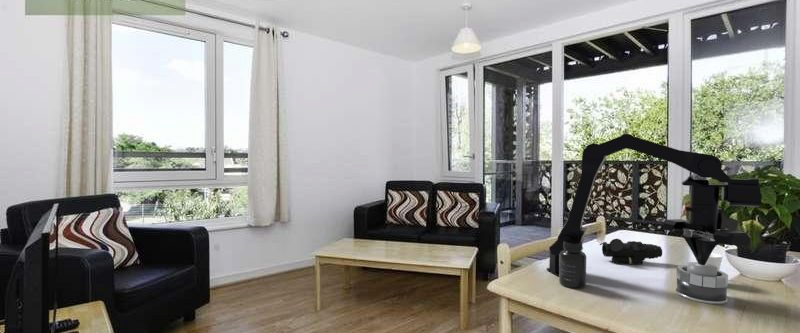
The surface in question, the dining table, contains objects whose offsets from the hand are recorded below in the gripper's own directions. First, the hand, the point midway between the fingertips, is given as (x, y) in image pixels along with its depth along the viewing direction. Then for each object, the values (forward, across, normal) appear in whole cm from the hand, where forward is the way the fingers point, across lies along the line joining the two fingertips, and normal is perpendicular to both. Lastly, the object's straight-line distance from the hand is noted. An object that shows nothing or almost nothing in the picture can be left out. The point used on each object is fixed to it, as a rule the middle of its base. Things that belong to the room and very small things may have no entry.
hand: (701, 264), depth 97 cm
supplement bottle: (+8, +12, +28) cm, 32 cm away
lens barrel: (+8, 0, 0) cm, 8 cm away
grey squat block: (+4, 0, 0) cm, 4 cm away
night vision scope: (+8, +30, -5) cm, 31 cm away
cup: (+8, +10, -13) cm, 18 cm away
